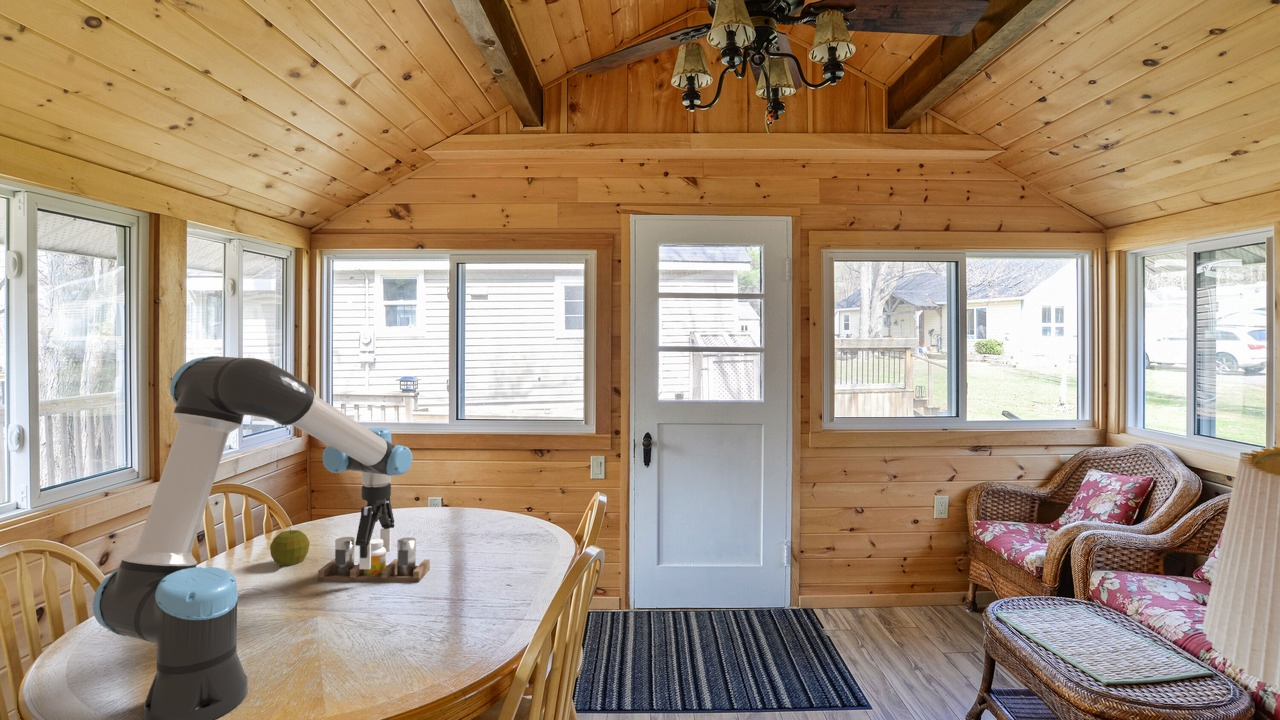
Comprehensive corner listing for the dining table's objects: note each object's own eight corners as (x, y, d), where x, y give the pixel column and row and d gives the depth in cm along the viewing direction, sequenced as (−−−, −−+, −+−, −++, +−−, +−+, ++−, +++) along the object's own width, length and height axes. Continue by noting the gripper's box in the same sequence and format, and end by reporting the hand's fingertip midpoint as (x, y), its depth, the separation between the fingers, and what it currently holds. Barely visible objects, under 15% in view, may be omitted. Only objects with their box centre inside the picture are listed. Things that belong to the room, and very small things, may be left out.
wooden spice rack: (418, 585, 162) (418, 571, 162) (318, 585, 161) (318, 570, 161) (429, 573, 171) (429, 559, 171) (334, 572, 170) (334, 558, 170)
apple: (262, 569, 171) (262, 531, 171) (289, 557, 181) (289, 521, 181) (290, 572, 169) (291, 534, 169) (316, 561, 179) (317, 524, 178)
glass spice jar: (411, 580, 163) (411, 543, 163) (393, 579, 163) (393, 543, 163) (417, 572, 169) (418, 537, 168) (400, 572, 168) (401, 537, 168)
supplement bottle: (360, 578, 164) (360, 543, 163) (372, 571, 169) (373, 537, 169) (377, 580, 163) (378, 545, 162) (389, 572, 168) (390, 538, 168)
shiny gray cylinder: (348, 579, 163) (348, 543, 162) (330, 579, 163) (330, 543, 162) (357, 571, 168) (357, 536, 168) (340, 571, 168) (340, 536, 168)
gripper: (371, 495, 153) (370, 577, 153) (406, 474, 178) (405, 544, 178) (341, 495, 153) (340, 576, 153) (381, 474, 178) (380, 544, 178)
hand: (375, 559), depth 166 cm, fingers open, 13 cm apart
